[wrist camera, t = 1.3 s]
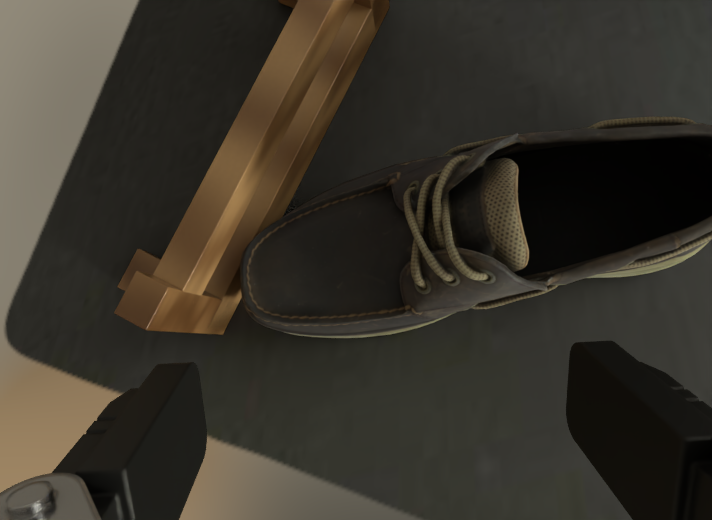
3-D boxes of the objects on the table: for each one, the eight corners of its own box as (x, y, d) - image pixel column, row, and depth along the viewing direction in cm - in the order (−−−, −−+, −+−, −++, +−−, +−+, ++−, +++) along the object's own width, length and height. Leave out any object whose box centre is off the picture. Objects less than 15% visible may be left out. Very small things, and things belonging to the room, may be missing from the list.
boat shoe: (242, 217, 36) (169, 166, 26) (660, 98, 34) (765, -13, 24) (275, 370, 34) (210, 381, 24) (722, 254, 32) (868, 210, 21)
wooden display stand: (296, -31, 39) (254, -156, 29) (391, 3, 38) (380, -116, 28) (126, 288, 37) (18, 268, 27) (221, 338, 35) (142, 336, 25)
